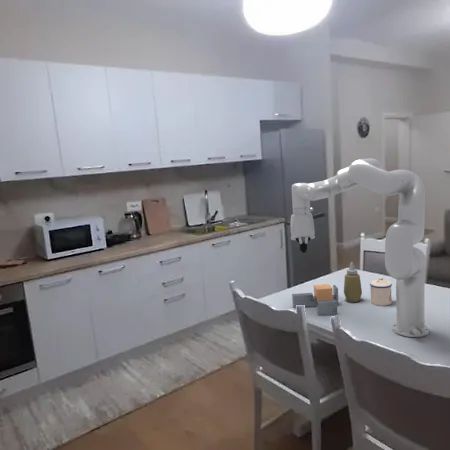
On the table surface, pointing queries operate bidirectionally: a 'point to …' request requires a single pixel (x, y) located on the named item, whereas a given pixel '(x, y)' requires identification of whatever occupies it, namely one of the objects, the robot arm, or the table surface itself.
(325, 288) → the block
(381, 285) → the teacup with lid
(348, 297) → the squeeze bottle
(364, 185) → the robot arm
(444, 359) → the table surface
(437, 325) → the table surface
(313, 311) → the table surface
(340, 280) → the table surface
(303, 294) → the rail
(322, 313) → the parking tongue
